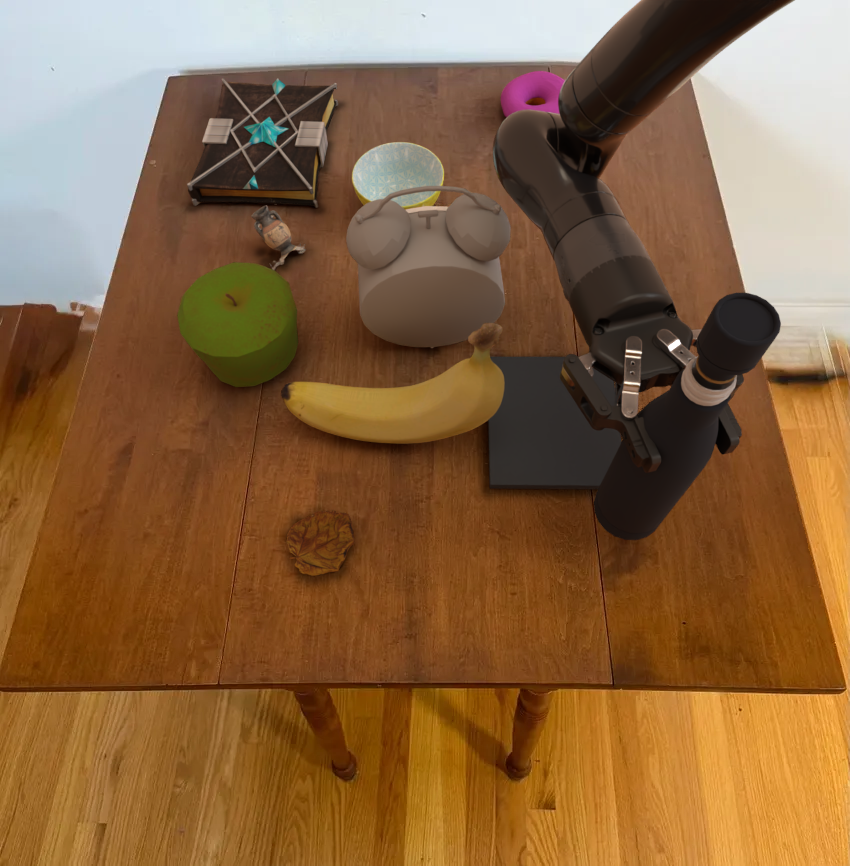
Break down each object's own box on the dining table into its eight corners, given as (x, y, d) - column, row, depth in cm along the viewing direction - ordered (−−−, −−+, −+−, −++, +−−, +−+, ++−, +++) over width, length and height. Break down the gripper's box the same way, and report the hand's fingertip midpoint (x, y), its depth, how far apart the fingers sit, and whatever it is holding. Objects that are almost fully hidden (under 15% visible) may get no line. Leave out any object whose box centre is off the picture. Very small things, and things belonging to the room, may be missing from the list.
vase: (249, 246, 91) (237, 211, 86) (286, 227, 93) (276, 191, 88) (271, 272, 89) (260, 238, 84) (308, 252, 91) (299, 217, 86)
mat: (609, 361, 82) (610, 356, 81) (624, 489, 74) (627, 485, 73) (486, 361, 82) (486, 356, 81) (489, 488, 75) (490, 484, 74)
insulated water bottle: (647, 552, 66) (787, 381, 39) (582, 521, 68) (675, 336, 41) (671, 496, 69) (817, 299, 42) (608, 467, 70) (711, 259, 43)
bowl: (393, 257, 90) (390, 221, 85) (339, 207, 94) (333, 169, 89) (461, 214, 93) (463, 176, 88) (407, 167, 98) (404, 129, 92)
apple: (272, 417, 79) (248, 359, 69) (180, 379, 82) (144, 318, 72) (326, 333, 85) (311, 268, 75) (238, 300, 87) (212, 233, 77)
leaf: (286, 519, 74) (281, 515, 72) (351, 505, 73) (347, 500, 72) (294, 581, 71) (289, 578, 70) (361, 566, 71) (357, 563, 69)
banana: (286, 444, 78) (240, 334, 60) (297, 399, 80) (256, 280, 63) (495, 463, 76) (511, 355, 58) (498, 415, 79) (514, 299, 61)
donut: (494, 97, 104) (496, 68, 100) (563, 89, 105) (567, 60, 101) (508, 145, 99) (511, 117, 95) (580, 137, 100) (586, 108, 96)
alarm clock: (496, 296, 87) (511, 146, 67) (505, 355, 82) (523, 213, 63) (360, 306, 86) (336, 158, 67) (363, 366, 82) (337, 226, 63)
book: (227, 100, 105) (217, 68, 101) (340, 103, 104) (335, 71, 100) (192, 207, 95) (180, 177, 91) (318, 211, 94) (312, 182, 90)
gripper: (534, 271, 57) (611, 458, 49) (704, 236, 58) (805, 411, 50) (524, 328, 63) (591, 500, 55) (677, 295, 65) (763, 458, 57)
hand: (692, 457), depth 53 cm, fingers closed on insulated water bottle, 5 cm apart
